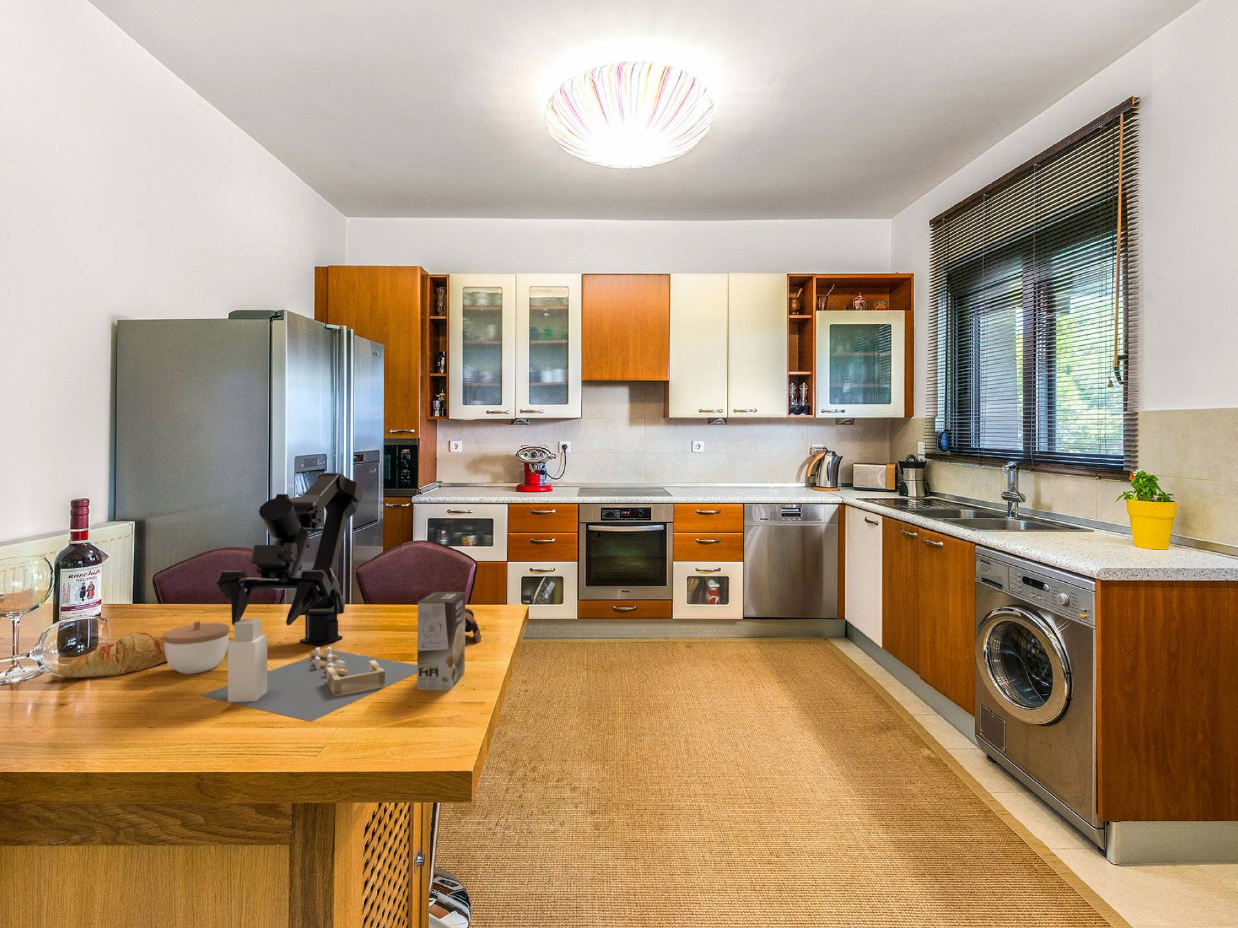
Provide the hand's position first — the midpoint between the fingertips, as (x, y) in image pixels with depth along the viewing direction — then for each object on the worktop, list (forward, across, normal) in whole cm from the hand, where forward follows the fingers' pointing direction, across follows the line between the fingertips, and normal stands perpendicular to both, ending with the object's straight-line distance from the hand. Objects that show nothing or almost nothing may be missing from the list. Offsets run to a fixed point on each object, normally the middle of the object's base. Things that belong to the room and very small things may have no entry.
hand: (260, 624), depth 116 cm
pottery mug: (-12, +30, +29) cm, 44 cm away
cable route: (0, +8, +16) cm, 17 cm away
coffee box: (+8, +32, +9) cm, 34 cm away
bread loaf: (-1, -31, +18) cm, 36 cm away
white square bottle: (+11, 0, +4) cm, 12 cm away
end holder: (+8, +16, +8) cm, 20 cm away
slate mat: (+6, +10, +10) cm, 15 cm away
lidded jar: (0, -17, +16) cm, 23 cm away
